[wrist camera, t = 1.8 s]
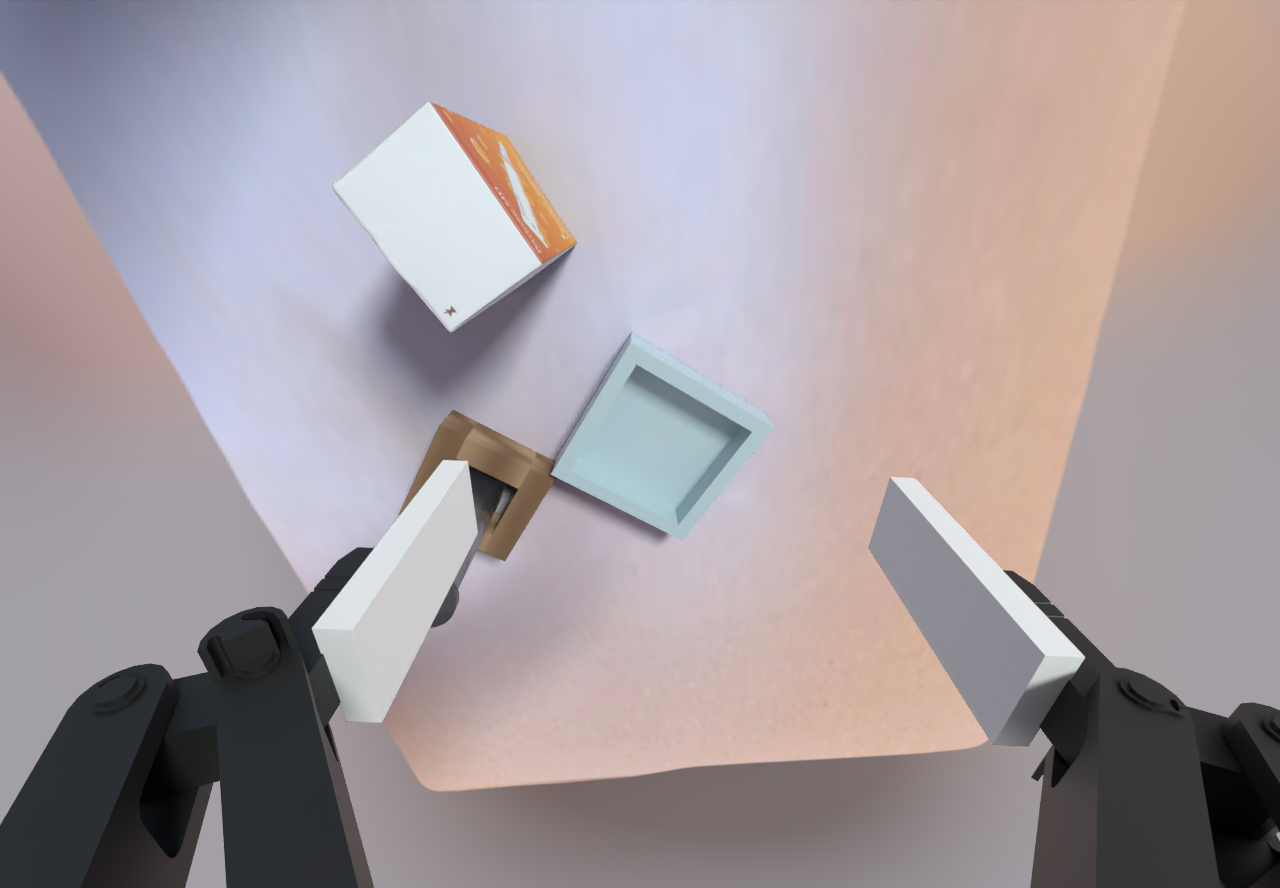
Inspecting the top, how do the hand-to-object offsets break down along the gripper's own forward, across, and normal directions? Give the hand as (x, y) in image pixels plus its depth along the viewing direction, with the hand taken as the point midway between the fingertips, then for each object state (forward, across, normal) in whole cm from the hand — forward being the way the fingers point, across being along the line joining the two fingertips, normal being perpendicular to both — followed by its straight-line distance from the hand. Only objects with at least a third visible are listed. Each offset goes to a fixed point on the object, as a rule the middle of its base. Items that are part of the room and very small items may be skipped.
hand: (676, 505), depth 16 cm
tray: (+25, 0, -10) cm, 27 cm away
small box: (+25, -11, +7) cm, 28 cm away
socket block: (+25, -15, -15) cm, 33 cm away
